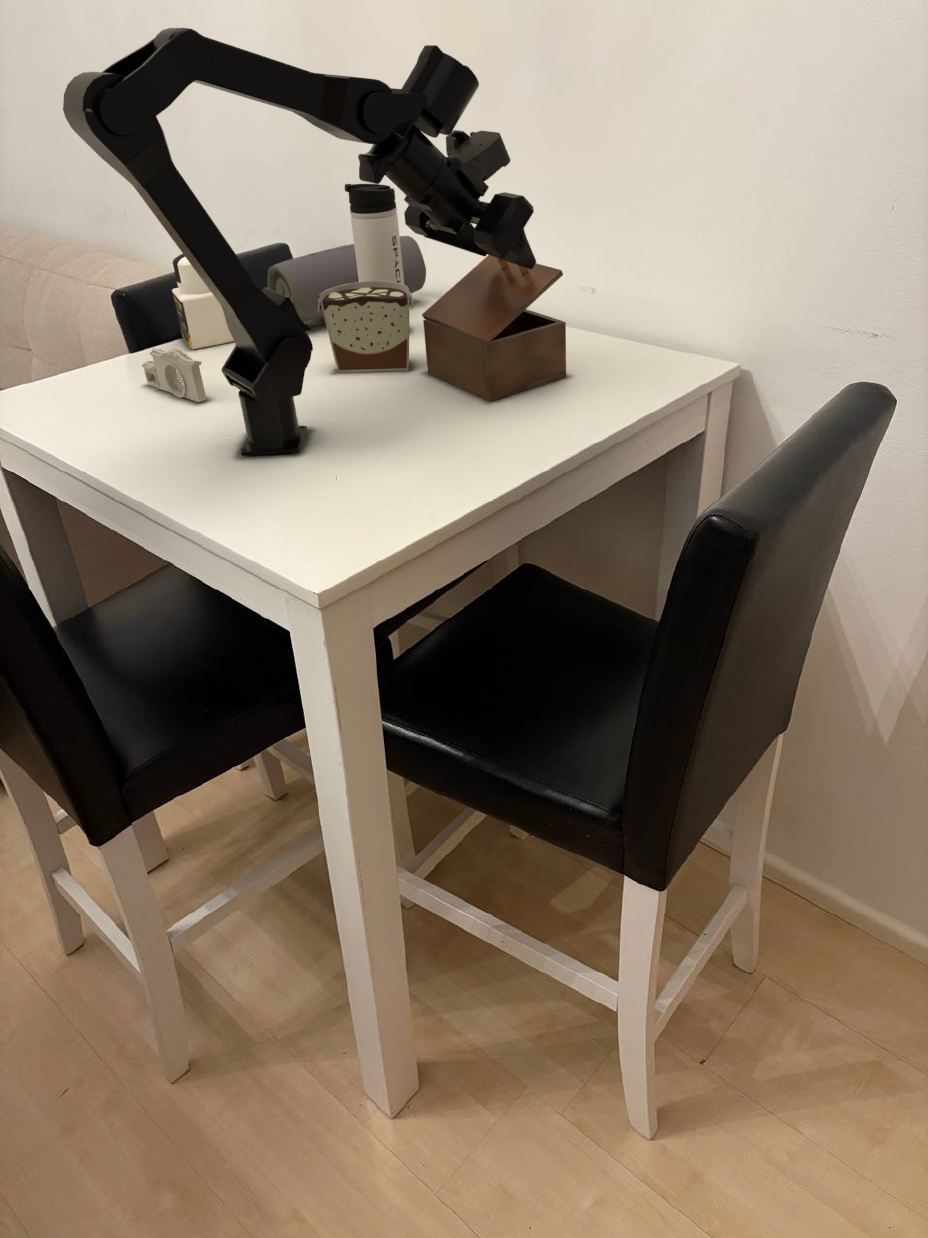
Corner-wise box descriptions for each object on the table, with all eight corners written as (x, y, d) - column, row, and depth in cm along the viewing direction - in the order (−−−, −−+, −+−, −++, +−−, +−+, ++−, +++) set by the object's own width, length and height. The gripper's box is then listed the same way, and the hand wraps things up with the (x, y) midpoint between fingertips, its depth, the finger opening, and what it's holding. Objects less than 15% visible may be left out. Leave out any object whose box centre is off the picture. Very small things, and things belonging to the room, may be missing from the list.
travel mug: (358, 330, 141) (339, 181, 129) (402, 323, 142) (387, 175, 131) (368, 342, 136) (349, 188, 124) (413, 335, 137) (399, 182, 126)
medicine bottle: (182, 337, 143) (163, 253, 137) (229, 328, 146) (212, 245, 139) (192, 350, 138) (172, 263, 131) (241, 340, 140) (224, 254, 134)
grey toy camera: (145, 386, 126) (134, 341, 123) (157, 381, 128) (146, 337, 124) (199, 404, 119) (188, 357, 116) (210, 400, 121) (200, 353, 117)
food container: (426, 354, 130) (419, 277, 124) (420, 369, 125) (412, 290, 119) (336, 356, 131) (325, 281, 126) (326, 372, 126) (315, 294, 121)
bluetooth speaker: (300, 338, 139) (289, 267, 133) (272, 325, 145) (259, 256, 140) (431, 304, 149) (425, 236, 144) (399, 293, 156) (392, 227, 150)
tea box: (500, 351, 129) (498, 299, 125) (566, 377, 119) (566, 321, 115) (427, 373, 123) (422, 319, 120) (490, 401, 114) (487, 344, 110)
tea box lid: (494, 255, 122) (479, 224, 118) (563, 274, 112) (549, 241, 109) (423, 318, 120) (407, 289, 117) (488, 343, 110) (471, 311, 107)
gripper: (515, 111, 97) (598, 209, 108) (416, 102, 110) (499, 190, 121) (456, 209, 98) (544, 296, 109) (365, 188, 111) (451, 268, 122)
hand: (509, 258), depth 115 cm, fingers open, 9 cm apart
